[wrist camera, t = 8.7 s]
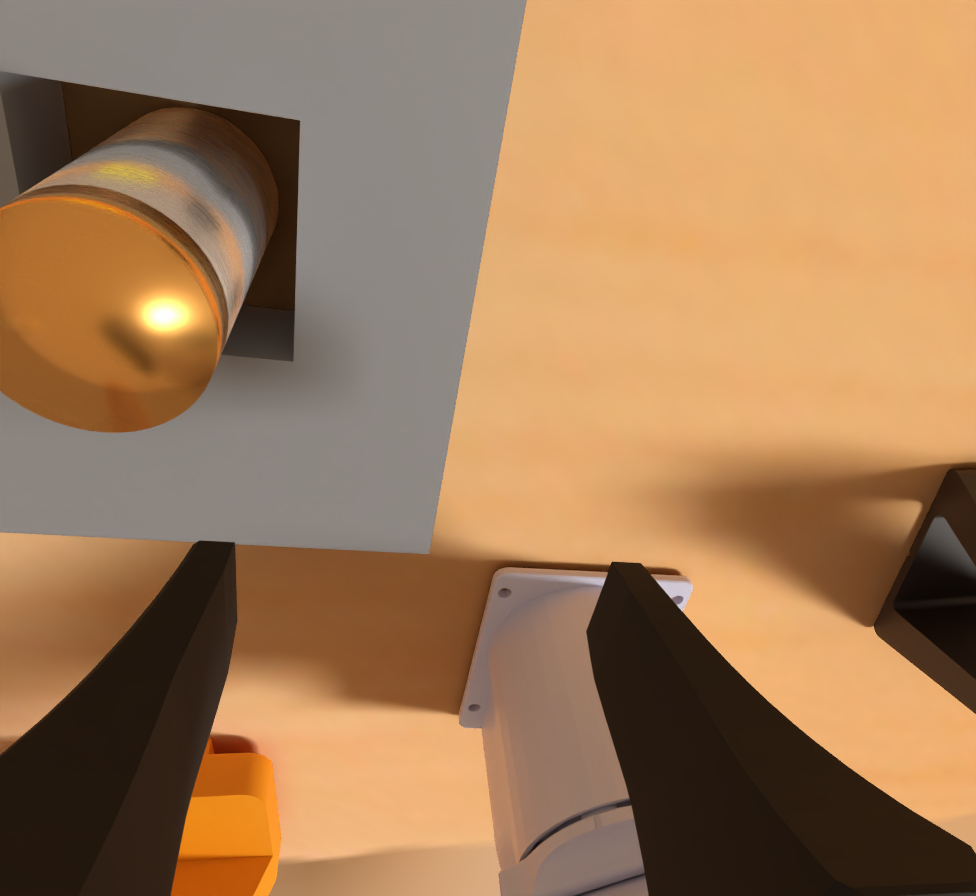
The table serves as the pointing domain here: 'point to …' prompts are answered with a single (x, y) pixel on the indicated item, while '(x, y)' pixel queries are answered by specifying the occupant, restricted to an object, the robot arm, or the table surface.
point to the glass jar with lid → (132, 271)
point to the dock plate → (319, 265)
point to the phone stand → (939, 592)
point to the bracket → (230, 828)
